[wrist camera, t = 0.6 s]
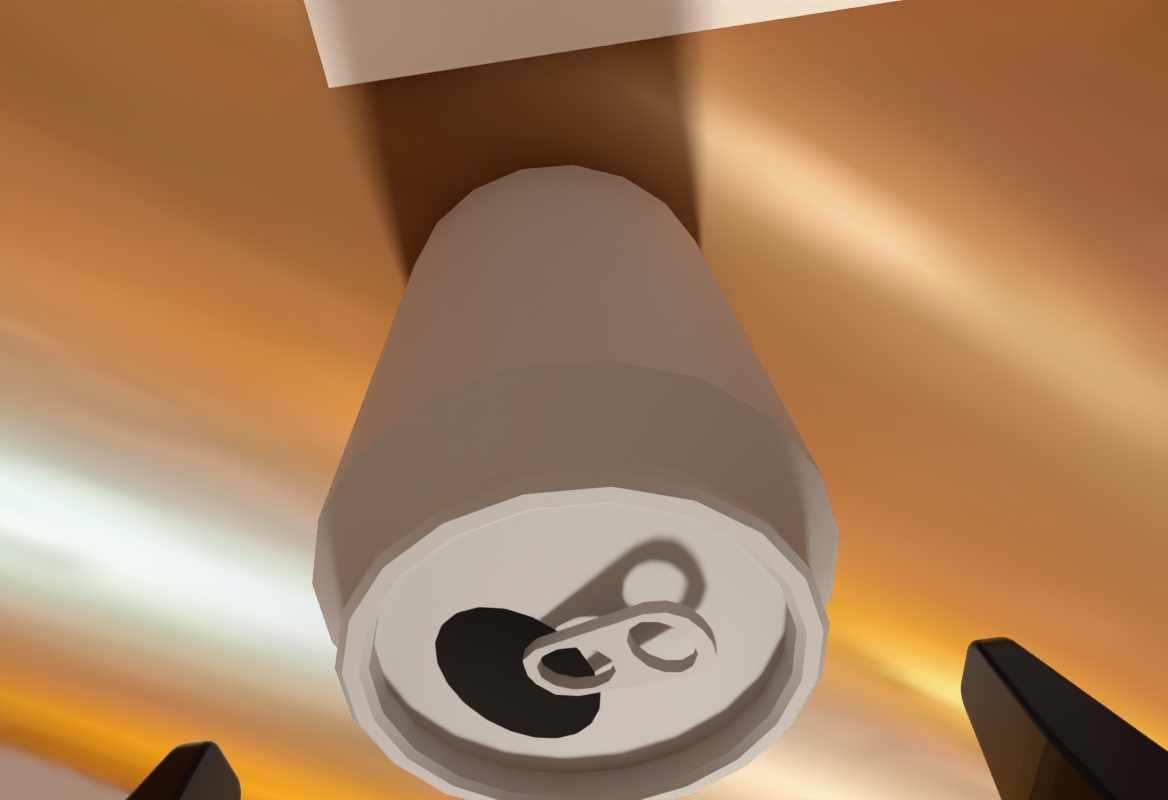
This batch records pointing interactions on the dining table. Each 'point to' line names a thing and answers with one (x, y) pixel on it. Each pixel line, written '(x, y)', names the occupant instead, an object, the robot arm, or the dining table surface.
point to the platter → (511, 29)
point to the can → (573, 512)
